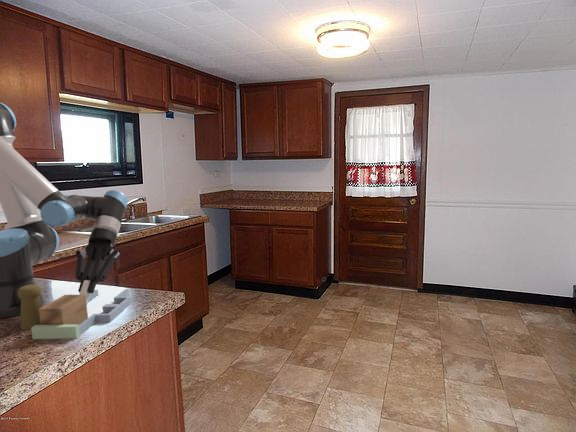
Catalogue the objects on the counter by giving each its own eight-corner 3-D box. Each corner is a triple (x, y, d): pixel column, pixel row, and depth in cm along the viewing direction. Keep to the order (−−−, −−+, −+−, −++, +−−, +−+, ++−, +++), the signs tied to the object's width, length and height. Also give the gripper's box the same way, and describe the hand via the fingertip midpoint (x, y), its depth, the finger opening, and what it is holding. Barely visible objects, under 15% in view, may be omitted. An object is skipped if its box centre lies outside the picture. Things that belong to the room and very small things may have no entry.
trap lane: (32, 339, 95) (31, 327, 95) (95, 295, 126) (94, 286, 125) (92, 338, 95) (91, 326, 95) (141, 294, 125) (140, 285, 125)
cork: (33, 330, 100) (28, 290, 99) (14, 329, 102) (8, 289, 100) (52, 320, 106) (47, 282, 105) (33, 319, 108) (28, 281, 106)
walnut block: (42, 335, 98) (38, 308, 96) (67, 318, 107) (64, 294, 106) (64, 335, 97) (61, 309, 96) (88, 319, 107) (85, 294, 106)
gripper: (129, 239, 125) (110, 308, 111) (89, 240, 125) (65, 309, 111) (120, 226, 119) (99, 297, 105) (79, 227, 119) (51, 298, 105)
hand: (81, 303), depth 108 cm, fingers closed
